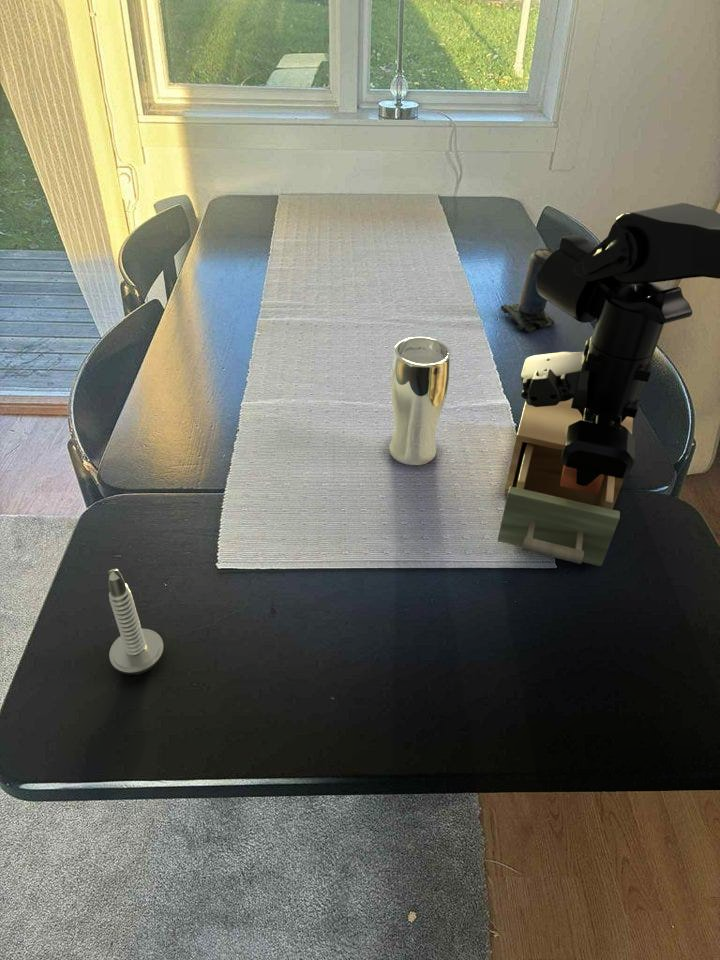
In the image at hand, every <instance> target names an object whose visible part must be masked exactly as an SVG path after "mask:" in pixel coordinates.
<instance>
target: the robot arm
mask: <svg viewBox="0 0 720 960" xmlns="http://www.w3.org/2000/svg"><path fill="white" fill-rule="evenodd" d="M692 278H711V279H719V280H720V213H719V212H718V211H716V210H714V209H710V208H705V207H701V206H698V205H694V204H690V203H685V202H679V203H673V204H668V205H662V206H658V207H657V206H656V207H653V208H646V209H642V210H636V211H630V212H626V213H622V214H621V215H619V216H617V217H616V219H615V222H613V224H612V225H611V228H610V229H609V232H608V234H607V236H606V237H605V239H603V240H601V242H600V243H598V244H597V245H594V244H593V243H591V242H590V241H589V240H588V239H587V238H586V237H584V236H582V235H581V234H578V233H576V234H571V235H567V236H566V235H565V236H562V237H561V238H560V242H559V246H558V248H557V249H556V250H555V251H553V253H552V254H551V255H550V256H549V257H548V258H547V260H546V261H545V263H544V264H543V266H542V268H541V270H539V271H538V273H537V277H536V289H537V292H538V294H539V295H540V296H541V297H542V298H544V299H545V300H547V302H548V303H550V304H551V305H553V306H555V307H556V308H557V309H559V310H560V311H561V312H563V313H565V314H566V315H568V316H569V317H571V318H573V319H574V320H576V321H577V322H580V323H584V324H586V323H587V324H588V323H592V322H593V321H595V320H596V321H595V325H594V328H593V332H592V336H590V339H589V340H586V341H585V344H584V348H583V351H573V352H572V351H559V352H552V353H551V352H550V353H542V354H534V355H531V356H529V357H527V358H526V359H525V360H524V363H523V366H522V370H521V373H520V380H521V384H522V390H521V394H520V395H521V398H522V399H523V400H525V402H526V403H527V404H528V405H531V406H534V407H544V406H555V405H557V404H558V403H559V402H562V401H568V400H570V399H572V405H571V408H573V409H578V411H579V412H580V413H581V415H582V420H579V421H577V422H575V423H573V424H571V425H569V426H568V429H567V430H566V436H565V441H564V445H563V450H562V456H561V463H563V464H564V465H565V466H566V467H570V468H575V469H577V473H576V483H577V484H578V485H582V486H587V485H588V484H590V483H591V482H592V481H593V480H595V479H596V478H597V477H598V476H599V475H601V474H602V475H607V476H612V477H616V478H621V479H623V478H624V479H626V478H629V477H630V475H631V472H632V470H633V467H634V464H635V461H636V443H637V441H636V438H635V437H634V436H633V433H632V434H631V433H630V431H629V430H628V429H627V428H626V427H625V426H623V425H621V423H622V422H623V421H624V419H625V418H626V417H632V418H633V419H636V417H637V413H638V411H639V397H640V395H641V391H642V388H643V386H644V383H645V382H646V383H648V382H649V380H650V377H651V374H652V360H653V357H654V355H655V351H656V349H657V345H658V343H659V340H660V337H661V333H662V331H663V329H664V326H665V324H669V323H673V322H677V321H680V320H684V319H686V318H690V317H692V316H693V309H692V307H691V305H690V302H688V300H687V299H686V298H685V297H684V295H683V292H682V291H683V290H682V288H681V286H675V287H671V288H667V289H665V288H664V287H662V286H660V285H658V284H656V283H663V282H669V281H670V282H671V281H677V280H684V279H692Z"/></svg>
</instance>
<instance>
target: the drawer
mask: <svg viewBox="0 0 720 960" xmlns="http://www.w3.org/2000/svg"><path fill="white" fill-rule="evenodd" d="M561 456H562V450H559V449H554V448H550V447H545V446H540V445H536V444H531V443H527V445H526V449H525V453H524V458H523V462H522V466H521V470H520V474H519V478H518V483H517V487H516V488H515V487H511V486H510V487H509V491H508V495H507V494H506V495H507V496H506V500H505V505H504V509H503V513H502V517H501V522H500V527H499V530H498V531H499V532H498V536H497V542H500V543H503V544H508V545H512V546H516V547H519V548H521V550H522V551H525V552H530V553H534V554H538V555H542V556H546V557H549V558H554V559H558V560H562V561H567V562H571V563H574V564H578V565H581V564H582V563H586V564H589V565H594V566H598V567H602V566H603V564H604V561H605V558H606V556H607V553H608V551H609V548H610V545H611V542H612V540H613V538H614V537H613V536H614V535H615V531H616V529H617V526H618V524H619V522H620V518H621V517H620V516H621V511H620V510H616V509H613V510H612V509H611V507H612V505H613V498H614V485H615V477H612V476H607V475H604V477H603V480H602V483H601V486H600V489H599V492H598V494H594V493H589V492H585V491H581V490H576V489H572V488H567V487H563V486H560V481H561V475H562V469H563V463H561Z"/></svg>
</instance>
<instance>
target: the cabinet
mask: <svg viewBox="0 0 720 960" xmlns="http://www.w3.org/2000/svg"><path fill="white" fill-rule="evenodd" d="M571 405H572V399H570V400H568V401H562V402H559V403H558V404H557V405H555V406H544V407H534V406H531V405H528V404H527V403H526V401H525V402H524V406H523V410H522V413H521V417H520V422H519V424H518V429H517V434H516V436H515V442H514V446H513V449H512V450H513V451H512V455H511V459H510V460H511V461H510V464H509V469H508V473H507V477H506V481H505V487H504V491H503V494H504V495H508V491H509V487H510V486H511V487H515V488H516V487H517V483H518V478H519V474H520V470H521V466H522V462H523V458H524V453H525V449H526V445H527V443H531V444H536V445H540V446H545V447H550V448H554V449H559V450H563V445H564V441H565V436H566V430H567V429H568V426H569V425H571V424H573V423H575V422H577V421H579V420H582V415H581V413H580V412H579V411H578V409H573V408H571ZM621 425H623V426H625V427H626V428H627V429H628V430H629V431H630V433H631V434H632V435H633V427H634V426H633V425H634V418H632V417H626V418H625V419H624V421H623V422H622V423H621ZM624 479H625V478H623V479H621V478H616V477H615V485H614V498H613V505H612V507H611V509H612V510H614V506H615V504H616V501H617V498H618V496H619V493H620V490H621V488H622V485H623V482H624Z"/></svg>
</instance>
